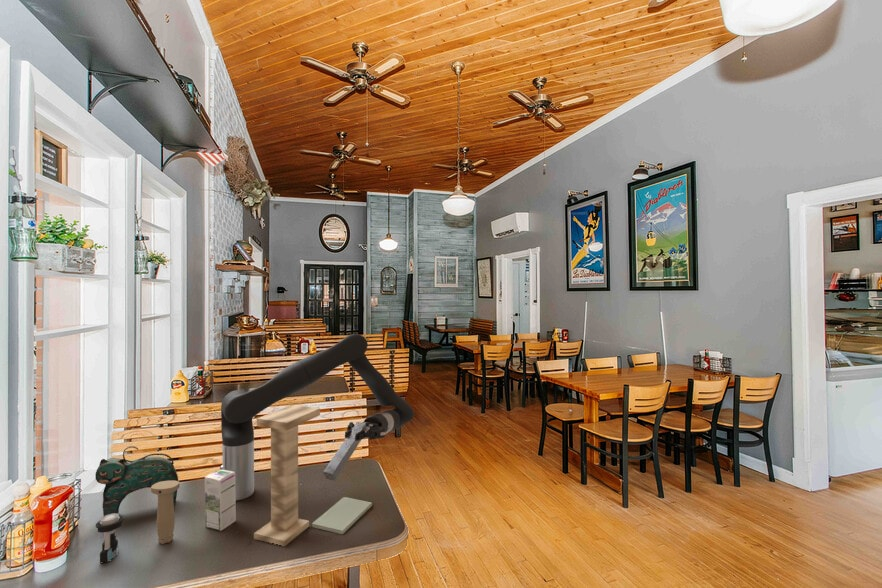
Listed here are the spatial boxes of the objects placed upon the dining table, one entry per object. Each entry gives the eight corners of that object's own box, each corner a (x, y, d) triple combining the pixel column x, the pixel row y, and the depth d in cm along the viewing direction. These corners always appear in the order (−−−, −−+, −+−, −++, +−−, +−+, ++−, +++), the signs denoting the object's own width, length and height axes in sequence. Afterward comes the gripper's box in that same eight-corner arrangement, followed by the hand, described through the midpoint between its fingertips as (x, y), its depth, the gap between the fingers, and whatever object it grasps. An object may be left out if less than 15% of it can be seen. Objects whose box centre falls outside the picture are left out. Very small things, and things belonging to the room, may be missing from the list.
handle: (173, 546, 109) (172, 488, 108) (147, 547, 108) (146, 489, 108) (183, 535, 114) (183, 480, 113) (158, 535, 113) (158, 480, 113)
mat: (312, 526, 118) (311, 523, 118) (344, 499, 133) (344, 496, 133) (342, 534, 114) (342, 530, 114) (371, 505, 129) (371, 502, 129)
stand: (254, 538, 112) (253, 419, 112) (292, 510, 126) (292, 404, 126) (284, 546, 109) (284, 423, 108) (319, 517, 123) (319, 408, 122)
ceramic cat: (95, 525, 118) (94, 455, 118) (98, 515, 123) (98, 447, 123) (178, 506, 129) (178, 441, 128) (178, 497, 134) (177, 434, 134)
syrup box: (236, 520, 121) (236, 470, 121) (219, 532, 115) (219, 479, 115) (221, 517, 123) (221, 467, 122) (204, 528, 117) (203, 476, 117)
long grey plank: (326, 478, 118) (323, 471, 117) (359, 428, 134) (357, 421, 132) (335, 481, 117) (332, 473, 116) (367, 430, 133) (365, 423, 131)
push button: (104, 549, 107) (104, 510, 107) (129, 545, 109) (129, 507, 109) (92, 565, 101) (91, 524, 101) (118, 561, 103) (117, 521, 102)
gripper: (362, 410, 146) (332, 419, 129) (398, 417, 141) (372, 427, 124) (359, 432, 145) (330, 444, 129) (396, 439, 140) (370, 453, 124)
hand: (351, 436), depth 127 cm, fingers closed on long grey plank, 3 cm apart
